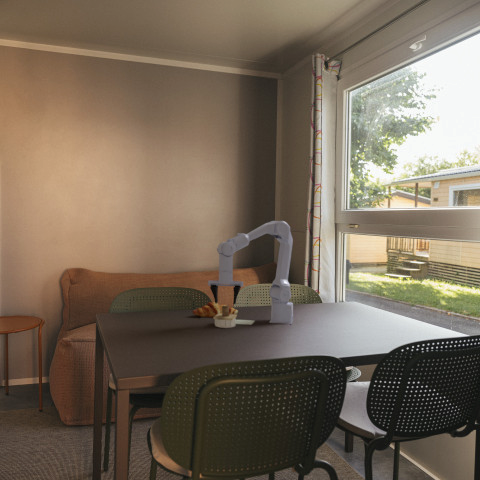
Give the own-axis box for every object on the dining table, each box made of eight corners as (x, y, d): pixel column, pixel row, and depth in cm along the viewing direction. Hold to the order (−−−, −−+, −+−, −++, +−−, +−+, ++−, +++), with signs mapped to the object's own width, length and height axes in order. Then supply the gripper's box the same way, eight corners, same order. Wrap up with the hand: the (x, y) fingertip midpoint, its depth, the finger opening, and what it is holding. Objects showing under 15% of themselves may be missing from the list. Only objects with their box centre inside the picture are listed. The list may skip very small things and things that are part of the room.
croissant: (235, 321, 213) (234, 305, 216) (241, 315, 204) (239, 298, 208) (191, 322, 207) (190, 305, 210) (195, 316, 198) (194, 298, 202)
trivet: (255, 321, 197) (255, 320, 197) (251, 325, 189) (251, 324, 189) (234, 320, 199) (234, 319, 199) (230, 324, 191) (230, 323, 191)
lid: (236, 316, 190) (237, 305, 190) (232, 320, 182) (232, 308, 182) (218, 315, 192) (218, 304, 192) (213, 319, 184) (213, 307, 184)
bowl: (237, 324, 190) (237, 316, 190) (232, 329, 182) (232, 320, 182) (217, 323, 192) (218, 315, 192) (212, 327, 184) (212, 319, 184)
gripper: (244, 270, 189) (244, 302, 190) (210, 269, 191) (210, 301, 192) (242, 272, 182) (241, 305, 183) (207, 271, 184) (206, 304, 185)
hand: (225, 303), depth 187 cm, fingers open, 7 cm apart
